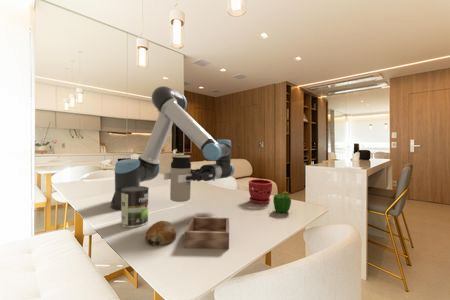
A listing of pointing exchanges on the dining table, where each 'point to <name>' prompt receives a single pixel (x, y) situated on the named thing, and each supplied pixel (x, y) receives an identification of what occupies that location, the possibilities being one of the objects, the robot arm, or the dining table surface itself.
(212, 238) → the walnut crate
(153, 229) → the bread roll
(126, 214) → the coffee can
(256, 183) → the plant pot
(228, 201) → the dining table surface
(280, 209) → the bell pepper
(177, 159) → the travel mug
